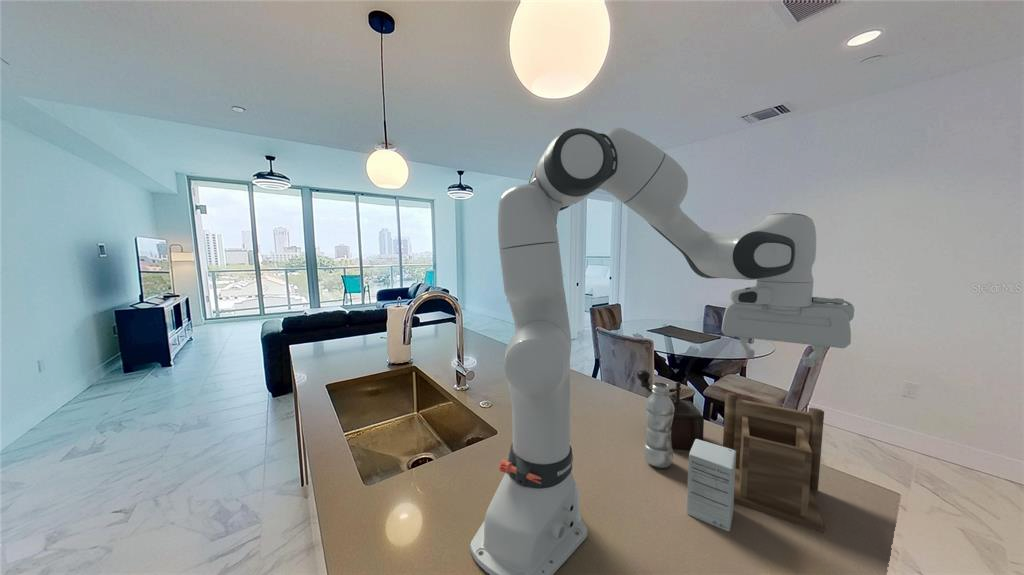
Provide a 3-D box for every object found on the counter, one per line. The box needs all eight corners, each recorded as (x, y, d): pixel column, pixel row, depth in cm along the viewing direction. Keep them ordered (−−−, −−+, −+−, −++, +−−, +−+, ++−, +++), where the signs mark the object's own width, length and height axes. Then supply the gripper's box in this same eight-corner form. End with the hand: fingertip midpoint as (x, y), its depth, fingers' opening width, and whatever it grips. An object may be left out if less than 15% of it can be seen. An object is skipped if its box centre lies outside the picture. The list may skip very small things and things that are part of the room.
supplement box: (692, 493, 71) (695, 437, 69) (734, 509, 66) (737, 450, 65) (685, 514, 65) (687, 453, 64) (729, 533, 60) (733, 468, 59)
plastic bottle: (678, 472, 78) (681, 390, 76) (649, 472, 78) (652, 390, 76) (665, 455, 84) (668, 380, 82) (639, 455, 84) (641, 380, 82)
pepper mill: (689, 430, 96) (691, 370, 95) (703, 452, 86) (707, 385, 84) (633, 425, 99) (635, 367, 98) (641, 446, 88) (643, 381, 87)
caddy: (833, 535, 60) (841, 441, 58) (720, 497, 69) (724, 415, 68) (816, 488, 72) (822, 409, 70) (721, 462, 81) (725, 391, 80)
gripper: (850, 297, 63) (843, 367, 64) (724, 291, 75) (720, 350, 76) (860, 300, 58) (853, 376, 59) (723, 293, 69) (719, 357, 71)
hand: (777, 362), depth 68 cm, fingers open, 8 cm apart
